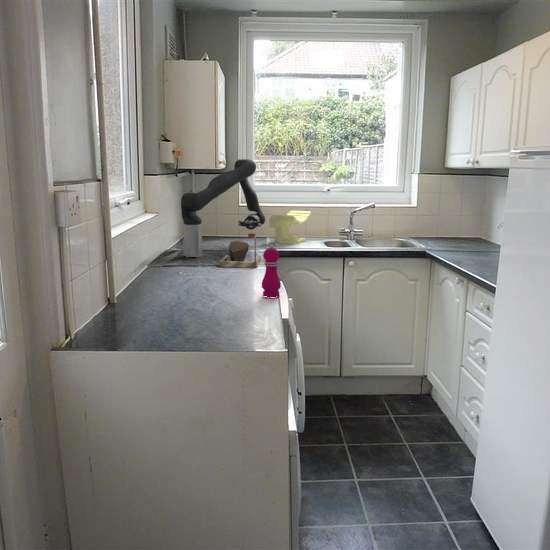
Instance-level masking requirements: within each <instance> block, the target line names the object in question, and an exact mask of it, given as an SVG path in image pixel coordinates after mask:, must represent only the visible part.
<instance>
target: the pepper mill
mask: <svg viewBox="0 0 550 550" xmlns="http://www.w3.org/2000/svg"><path fill="white" fill-rule="evenodd" d="M274 247H275V245H274V244H272V243H270V244H269V246H268V248H267V249H265V250H264V251H263V255H262V257H263V259H264V260H265V261H264V266H265V273H264V276H263V278H262V281H261V289H263V291H262V297H263V296H267V297H276V296H279V297H280V288H281V287H282V286H281V285H282V284H281V280H280V278H279V274H278V270H277V269H278V266H279V264H278V263H279V261H278V259H280V252H279V250H278V249H276V248H274Z"/></svg>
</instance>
